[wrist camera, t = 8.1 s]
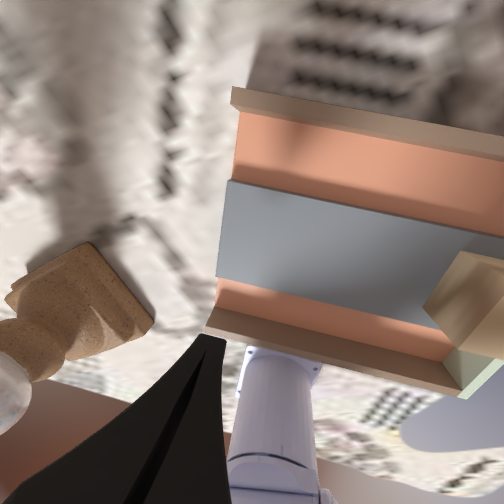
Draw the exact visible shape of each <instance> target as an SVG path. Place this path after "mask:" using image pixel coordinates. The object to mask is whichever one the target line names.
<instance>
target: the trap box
mask: <svg viewBox="0 0 504 504" xmlns="http://www.w3.org/2000/svg"><path fill="white" fill-rule="evenodd" d="M230 104H231V105H232V106H234V107H235V108H236V109H237V110H239V111H240V116H239V123H238V131H237V139H236V146H235V154H234V162H233V169H232V177H231V179H230V180H228V181H227V187H226V195H225V203H224V211H223V219H222V227H221V236H220V244H219V252H218V260H217V268H216V276H215V277H218V284H217V292H216V300H215V307H214V309H213V311H212V313H211V315H210V317H209V319H208V321H207V324H206V326H205V333H209V334H213V335H216V336H220V337H224V338H228V339H232V340H236V341H240V342H244V343H248V344H252V345H256V346H260V347H263V348H267V349H271V350H275V351H279V352H283V353H287V354H291V355H295V356H299V357H303V358H307V359H310V360H314V361H318V362H322V363H326V364H330V365H334V366H338V367H342V368H346V369H350V370H353V371H357V372H361V373H365V374H369V375H373V376H377V377H381V378H385V379H389V380H393V381H397V382H400V383H404V384H408V385H412V386H416V387H420V388H424V389H428V390H432V391H436V392H440V393H444V394H447V395H451V396H455V397H459V398H463V399H468V398H469V397H470V396H471V395H472V394H473V393H474V392H475V391H476V390H477V389H478V388H479V387H480V386H481V385H482V384H483V383H484V382H485V381H486V380H487V379H488V378H489V377H490V376H491V375H493V374H494V373H495V372H496V371H497V370H498V369H499V368H500V367H501V366H502V365H503V364H504V361H503V360H499V359H495V358H491V357H487V356H483V355H479V354H475V353H470V352H466V351H462V350H458V349H457V348H456V347H455V346H454V345H453V343H452V342H451V341H450V340H449V339H448V337H447V336H446V335H445V334H444V333H443V332H442V330H441V329H440V328H439V327H438V326H437V324H436V323H435V322H434V321H433V320H432V318H431V317H430V316H429V315H428V314H427V313H426V311H425V310H424V309H423V308H422V307H423V305H424V304H425V302H426V301H427V299H428V298H429V296H430V295H431V293H432V292H433V290H434V289H435V287H436V286H437V284H438V283H439V281H440V280H441V278H442V277H443V276H444V274H445V273H446V271H447V270H448V268H449V267H450V265H451V264H452V262H453V261H454V259H455V258H456V256H457V255H458V253H459V252H460V251H465V252H470V253H474V254H479V255H484V256H488V257H493V258H497V259H502V260H504V136H499V135H493V134H488V133H482V132H477V131H472V130H466V129H461V128H456V127H450V126H445V125H439V124H434V123H429V122H423V121H418V120H412V119H407V118H402V117H396V116H391V115H385V114H380V113H375V112H369V111H364V110H358V109H353V108H348V107H342V106H337V105H331V104H326V103H321V102H315V101H310V100H304V99H299V98H294V97H288V96H283V95H277V94H272V93H267V92H261V91H256V90H250V89H245V88H240V87H234V86H232V92H231V101H230Z"/></svg>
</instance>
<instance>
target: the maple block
mask: <svg viewBox="0 0 504 504" xmlns="http://www.w3.org/2000/svg"><path fill="white" fill-rule="evenodd" d="M422 308H423V309H424V310H425V311H426V313H427V314H428V315H429V316H430V317H431V318H432V320H433V321H434V322H435V323H436V324H437V326H438V327H439V328H440V329H441V330H442V332H443V333H444V334H445V335H446V336H447V337H448V339H449V340H450V341H451V342H452V343H453V345H454V346H455V347H456V348H457V349H458V350H462V351H466V352H470V353H475V354H479V355H483V356H487V357H491V358H495V359H499V360H503V361H504V260H502V259H497V258H493V257H488V256H484V255H479V254H474V253H470V252H465V251H460V252H459V253H458V255H457V256H456V258H455V259H454V261H453V262H452V264H451V265H450V267H449V268H448V270H447V271H446V273H445V274H444V276H443V277H442V278H441V280H440V281H439V283H438V284H437V286H436V287H435V289H434V290H433V292H432V293H431V295H430V296H429V298H428V299H427V301H426V302H425V304H424V305H423V307H422Z"/></svg>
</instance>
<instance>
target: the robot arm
mask: <svg viewBox="0 0 504 504" xmlns="http://www.w3.org/2000/svg"><path fill="white" fill-rule="evenodd" d="M226 343H227V341H226V340H225V339H221V338H217V337H214V336H210V335H206V334H202V333H201V334H199V335H198V337H197V338H196V339H195V341H194V342H193V343H192V344H191V346H190V347H189V348H188V349H187V350H186V352H185V353H184V354H183V355H182V356H181V357H180V358H179V359H178V360H177V362H176V363H175V364H174V365H173V366H172V367H171V368H170V369H169V370H168V371H167V372H166V373H165V374H164V375H163V376H162V377H161V378H160V379H159V380H158V381H157V382H156V383H155V384H154V385H153V386H152V387H151V388H149V389H148V390H147V391H146V392H145V393H144V394H143V395H142V396H141V397H139V398H138V399H137V400H136V401H135V402H134V403H132V404H131V405H130V406H129V407H128V408H126V409H125V410H124V411H123V412H121V413H120V414H119V415H118V416H117V417H115V418H114V419H113V420H112V421H110V422H109V423H108V424H106V425H105V426H104V427H102V428H101V429H100V430H98V431H97V432H96V433H94V434H93V435H91V436H90V437H89V438H87V439H86V440H84V441H83V442H82V443H80V444H79V445H78V446H76V447H75V448H73V449H72V450H71V451H69V452H68V453H66V454H65V455H63V456H62V457H60V458H59V459H57V460H56V461H54V462H53V463H51V464H50V465H48V466H47V467H45V468H43V469H42V470H40V471H39V472H37V473H36V474H34V475H33V476H31V477H30V478H28V479H27V480H25V481H24V482H22V483H21V484H20V485H19V486H18V487H17V488H16V489H15V490H14V491H13V492H12V493H11V495H10V496H9V497H8V498H7V499H6V500H5V501H4V502H3V503H2V504H339V503H338V502H337V500H336V499H335V498H334V497H333V496H332V494H331V492H330V490H328V489H321V488H320V484H319V480H318V471H317V461H316V449H315V437H314V426H313V415H312V403H311V392H310V390H311V388H312V386H313V384H314V382H315V380H316V378H317V375H318V373H319V371H320V369H321V367H322V363H321V362H318V361H314V360H310V359H307V358H303V357H299V356H295V355H291V354H287V353H283V352H279V351H275V350H271V349H267V348H263V347H260V346H256V345H252V344H247V347H246V351H245V356H244V360H243V364H242V368H241V372H240V376H239V381H238V385H237V389H236V393H235V397H236V398H237V399H239V402H238V407H237V412H236V417H235V422H234V427H233V432H232V437H231V442H230V447H229V452H228V457H227V462H226V456H225V448H224V437H223V424H222V402H221V382H222V364H223V359H224V354H225V348H226ZM315 367H316V368H315Z"/></svg>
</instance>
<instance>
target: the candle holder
mask: <svg viewBox="0 0 504 504" xmlns="http://www.w3.org/2000/svg"><path fill="white" fill-rule="evenodd" d="M11 288H12V290H13V291H12V292H10V293H9V294H8V295H6V297H5V299H4V300H5V301H6V303H7V304H8V305H9V306H10V307H11V308H12V309H13V310H14V311H15V312H16V313H17V318H12V319H6V320H3V321H0V435H1V434H3V433H4V432H6V431H7V430H8V429H9V428H11V427H12V426H13V425H14V424H15V423H16V422H17V421H18V420H19V419H20V418H21V417H22V416H23V414H24V412H25V411H26V410H27V408H28V406H29V403H30V400H31V393H32V389H31V383H32V382H37V381H41V380H44V379H47V378H49V377H51V376H52V375H54V374H55V373H56V372H57V371H58V370H59V369H60V368H61V367H62V365H63V363H64V360H65V359H67V360H69V361H72V360H77V359H81V358H85V357H88V356H92V355H95V354H98V353H101V352H104V351H107V350H110V349H112V348H115V347H117V346H119V345H122V344H124V343H126V342H129V341H132V340H135V339H137V338H140V337H142V336H144V335H145V334H146V333H147V332H148V330H149V329H150V328H151V327H152V325H153V324H154V321H153V319H152V318H151V317H150V315H149V314H148V313H147V311H146V310H145V309H144V307H143V306H142V305H141V304H140V302H139V301H138V300H137V299H136V297H135V296H134V295H133V294H132V292H131V291H130V290H129V289H128V287H127V286H126V285H125V284H124V282H123V281H122V280H121V279H120V277H119V276H118V275H117V274H116V272H115V271H114V270H113V269H112V267H111V266H110V265H109V264H108V262H107V261H106V260H105V259H104V257H103V256H102V255H101V254H100V253H99V252H98V251H97V249H96V248H95V247H94V246H93V245H92V244H90V243H85V244H83V245H81V246H78V247H76V248H74V249H72V250H70V251H68V252H66V253H64V254H62V255H60V256H58V257H56V258H55V259H53V260H51V261H50V262H48V263H46V264H44V265H43V266H41V267H39V268H37V269H36V270H34V271H32V272H30V273H29V274H27V275H25V276H24V277H22V278H20V279H18V280H17V281H16V282H14V283H13V284H12V285H11Z"/></svg>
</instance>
